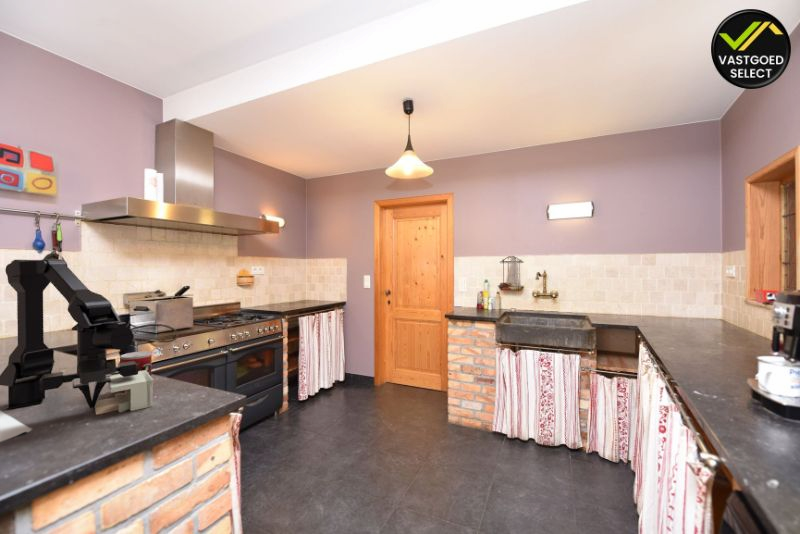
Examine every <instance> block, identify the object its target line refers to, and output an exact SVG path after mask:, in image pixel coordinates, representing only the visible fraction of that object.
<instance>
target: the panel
mask: <svg viewBox="0 0 800 534" xmlns="http://www.w3.org/2000/svg"><path fill="white" fill-rule="evenodd" d="M127 401H130V394H128V395H123V396H118V397H115V396H114V397H108V398H105V399H100V400H99V399H97V402H96V404H95V407H94V409H95V410H94V411H95V415H101V414H104V413H106V414H107V413H110V412H114V411H119V404H121V403H124V402H127Z"/></svg>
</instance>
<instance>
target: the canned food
mask: <svg viewBox="0 0 800 534" xmlns="http://www.w3.org/2000/svg"><path fill="white" fill-rule="evenodd" d="M131 361H134V362H135V363H136V364H137V365H138V371H143V370H146V371H147V372H148V373H149V375H150V376H151V377H152V373H153V372H152V371H153V370H152V367H153V366H152V363H153V362H152V361H153V358H152V352H151V351H146V350H145V351H133V352H127V353H125V354H121V355H120V357H119V363H125V362H131ZM120 393H125V390H122V391H120Z"/></svg>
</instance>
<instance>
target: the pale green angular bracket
mask: <svg viewBox="0 0 800 534" xmlns="http://www.w3.org/2000/svg"><path fill="white" fill-rule="evenodd" d="M110 379H111V382H109V383H107V384H108V387H109V390H110V393H115V394H114V397H118V396H123V395H128V394H130V401H127V402H124V403H121V404H119V410H118V413H123V412H126V411H128V410H130V412H134V411H137V410H141V409H145V408H150V407H153V385H154V379H153V378H152V375H151V376H150V375H149V373H148V372H147V371H146V370H143V371H138V374H137V375H133V376H127V377H123V376H122V375H120V374H115V375H111V377H110ZM122 390H125V393H121V391H122ZM117 392H120V393H117Z"/></svg>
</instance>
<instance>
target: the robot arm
mask: <svg viewBox="0 0 800 534" xmlns="http://www.w3.org/2000/svg"><path fill="white" fill-rule="evenodd" d="M4 270H5V271H4V272H5V274H6V276H7V283H8V285H9V286H11V288H12V289H13V290H14V291H15V292H16V305H17V306H16V307H17V308H16V309H17V310H16V311H17V313H16V315H17V324H16V325H17V345H16V346H15V348H14V349H13V351H12V352H11V353H10V355H9V356H8V361H7V362H8V363H7V366H6V367H5V368H4V370H3V371H2V372H1V374H0V386H3V387H7V388H8V389H7V391H8V396H7V397H8V398H7V403H8V404H7V406H6V410H11V409H16V408H21V407H28V406H32V405H39V404H42V403H43V401H44V400H45V399H46V391H49V390H55V389H59V388H60V387H61V386H62V385H64V384H65V383H66V384H67V383H72V389H79V390H80V392H81V393H82V394H83V396H84V398H85V400H86V402H87V403H86V404H88V408H89V409H95V404H96V402H97V401H98V400H99V396H100V394H101V392H102V390H103V389H104V387H105V385H107V384H108V383H109V382H111V379H110V377H111V376H113V375H119V374H120V375H122V376H123V377H127V376H133V375H137V374H138V365H137V364H136V363H135V362H134V361H131V362H125V363H120V362H119V363H117V361H116V358H111V359H108V358H107V351H108V350H118V351H123V350H125V349H127V348H129V347H130V346H131V344H133V341H134V337H135V336H134V335H135V334H134V333H133V331H132V330H131V328H129V327H127V326H126V322H124V321H122V320H121V319H120V316H119V315H118V313H117V312H116V311H115V308H114V306H113V305H112V303H111V301H110V300H109V299H107V298H106V297H104V295H102V294H100V293H97V292H94V291H92V290H90V289H89V288H88V287H87V286H86V285H85V284H84V283H83V282H82V280H81V279H80V278H78V276H77V275H76V274H75V273H74V272H73V271H72V270H71V269H70V268H69V267H68V262H67V261H65V260H63V259H60V258H59V259H57V258H56V259H55V258H53V259H52V258H43V259H13V260H12V261H11V262H10V263H7V265H6V266H5V269H4ZM49 284H52V285H53V287H54V288H56V290H57V292H59V293H60V294H61V295H62V296H63V298H64V299H65V300H66V301H67V303H68V306H67V312H68V313H69V314H70V317H71V319H72V320H73V321H74V322H76V324H75V325H73V326H72V327H71V331H73V332H74V331H77V333H76V334H77V335H76V339H77V341H76V352H77V353H76V373H70V374H64V371H59V372H58V371H57V372H53V368H54V366H55V359H54V358H55V357H54V355H55V354H54V353H55V350H54V348H53V347H51V348H49V346H48V345H47V344H46V343H44V342H45V341H44V339H45V337H44V336H45V335H44V331H45V330H44V328H45V327H44V291H45V289H47V287H48V286H49ZM89 383H94V386H93V392H92V393H91V389H90V384H89Z"/></svg>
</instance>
